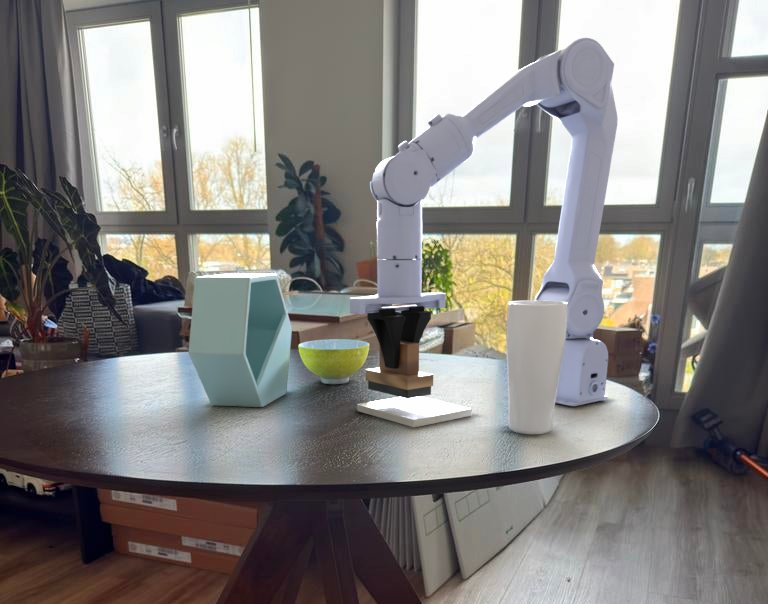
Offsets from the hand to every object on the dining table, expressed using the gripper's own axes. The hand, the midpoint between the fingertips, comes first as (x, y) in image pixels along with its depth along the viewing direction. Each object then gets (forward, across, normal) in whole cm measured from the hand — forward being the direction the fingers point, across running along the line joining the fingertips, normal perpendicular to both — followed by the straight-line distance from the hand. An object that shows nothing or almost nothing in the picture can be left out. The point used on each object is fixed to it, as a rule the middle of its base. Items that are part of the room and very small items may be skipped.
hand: (399, 366), depth 97 cm
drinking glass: (+6, -5, +19) cm, 21 cm away
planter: (+6, +13, -19) cm, 24 cm away
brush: (+3, 0, 0) cm, 3 cm away
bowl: (+6, -5, -23) cm, 24 cm away
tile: (+6, 0, +3) cm, 7 cm away
